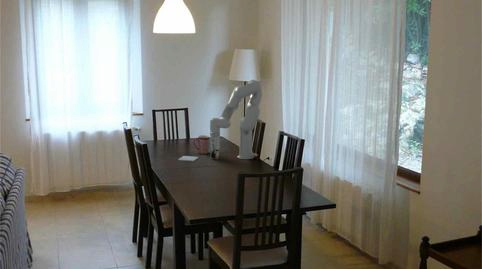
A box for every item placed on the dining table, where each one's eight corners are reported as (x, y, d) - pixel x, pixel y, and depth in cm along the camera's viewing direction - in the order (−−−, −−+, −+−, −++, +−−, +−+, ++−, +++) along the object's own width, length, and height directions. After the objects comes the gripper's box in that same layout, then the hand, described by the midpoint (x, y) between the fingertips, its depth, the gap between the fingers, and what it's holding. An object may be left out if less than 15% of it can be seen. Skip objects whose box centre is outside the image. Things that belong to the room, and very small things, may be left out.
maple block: (218, 157, 398) (218, 151, 397) (217, 159, 393) (217, 152, 392) (212, 157, 399) (212, 151, 398) (210, 158, 394) (210, 152, 393)
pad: (198, 157, 396) (198, 156, 395) (193, 161, 384) (193, 160, 384) (183, 156, 398) (183, 155, 398) (178, 160, 387) (178, 159, 387)
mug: (209, 151, 418) (209, 135, 415) (209, 154, 409) (209, 137, 406) (193, 151, 416) (193, 135, 414) (193, 154, 407) (193, 137, 405)
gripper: (216, 136, 383) (216, 160, 387) (222, 132, 400) (222, 155, 403) (206, 136, 385) (206, 159, 388) (213, 132, 402) (213, 154, 405)
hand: (214, 157), depth 396 cm, fingers open, 7 cm apart
